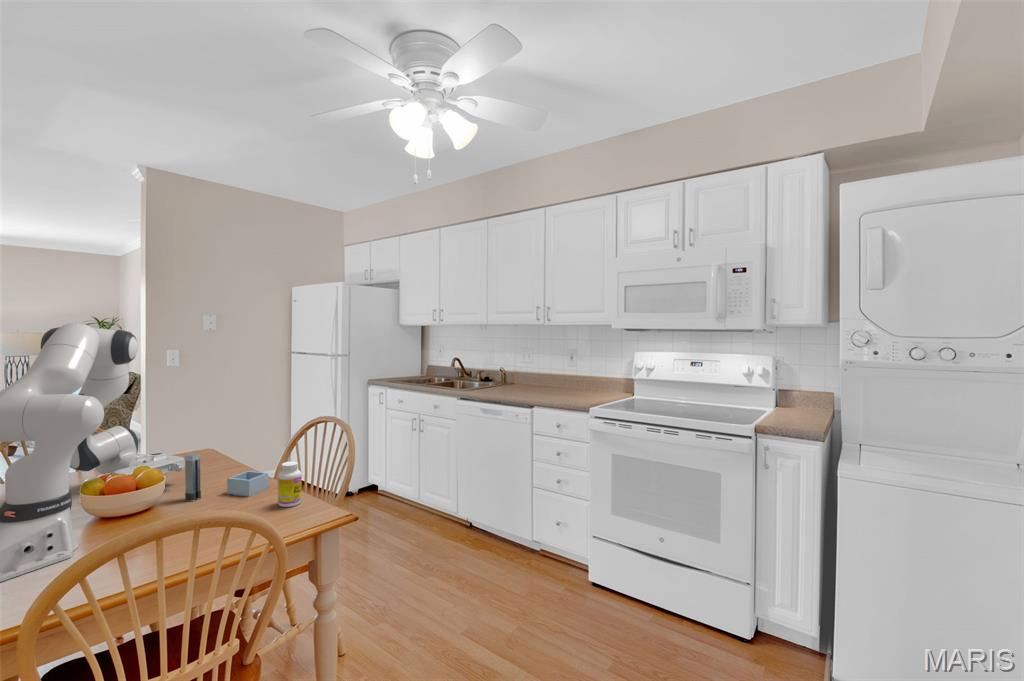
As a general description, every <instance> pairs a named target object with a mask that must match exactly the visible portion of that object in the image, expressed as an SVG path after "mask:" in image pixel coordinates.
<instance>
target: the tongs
mask: <svg viewBox="0 0 1024 681" xmlns="http://www.w3.org/2000/svg"><path fill="white" fill-rule="evenodd" d="M201 458H202V455H201V453H196V452H192V453H188V454H186V455H184V459H185V467H184V468H185V469H184V470H185V476H184V477H185V478H184V479H185V493H184V496H185V497H184V499H185V500H195V499H196V498H200V499H202V491H201ZM196 500H197V499H196ZM196 500H195V501H196Z"/></svg>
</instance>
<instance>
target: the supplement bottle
mask: <svg viewBox="0 0 1024 681" xmlns="http://www.w3.org/2000/svg"><path fill="white" fill-rule="evenodd" d="M298 468H299V462H298V461H285V462H283V463H281V470H282V471H280V472H279V473H278V476H277V490H278V492H277V503H278V506H279V507H283V508H290V507H291V508H292V507H295V506H298V505H300V503H301V502H302V472H301V470H299V469H298Z"/></svg>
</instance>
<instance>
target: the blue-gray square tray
mask: <svg viewBox="0 0 1024 681" xmlns="http://www.w3.org/2000/svg"><path fill="white" fill-rule="evenodd" d="M226 482H227V483H226V485H227V488H226V489H227V495H230V494H233V495H232V496H238V497H239V496H241V497H249V498H250V497H252V496H255V495H256V494H259V493H260V492H263V491H265V490H268V489H269V472H264V471H263V472H262V471H254V470H246V471H243V472H241V473H238V474H236V475H233V476H231V477H228V478H227V479H226Z"/></svg>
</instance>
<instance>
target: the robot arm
mask: <svg viewBox="0 0 1024 681" xmlns="http://www.w3.org/2000/svg"><path fill="white" fill-rule="evenodd" d="M40 340H41V342H40V351H39V353H38V355H37V356H36V357H35V360H34V361H33V362H32V364H31V365H30V367H28V370H27V371H26V372H25V373H24V374H23V375H21V377H19V378H18V379H17V380H15V381H13V383H10V384H9V385H8V386H6V387H5V388H3V389H1V390H0V443H13V442H32V441H34V447H33V450H32V453H29V454H27V455H24V456H22V457H20V458H18V459H17V460H15V461H13V462H12V463H11V464H10V465H9V466H8V468H7V469H6V470H5V472H4V487H5V490H4V492H5V496H4V497H5V501H4V502H3V503H2V505H1V507H0V583H1V582H4V581H7V580H10V579H13V578H16V577H18V576H22V575H25V574H27V573H29V572H33V571H36V570H39V569H41V568H45V567H47V566H50V565H53V564H55V563H58V562H61V561H62V562H63V561H64V560H68V559H70V558H72V556H73V555H74V554H73V552H74V551H75V550H76V549H77V548H78V547H79V546H80V543H79V540H78V539H77V536H76V533H75V530H74V525H73V521H72V513H71V510H72V506H73V500H72V499H73V496H72V495H73V494H72V490H70V469H72V470H75V471H80V472H90V471H92V470H93V469H95V470H96V472H98V473H99V474H100V475H102V474H106V473H112V474H129V475H132V474H133V471H134V469H136V468H137V467H140V466H148V467H150V468H155V469H160V470H161V471H162V472H163V475H166V474H169V473H172V472H182V471H184V468H185V457H183V456H178V455H171V454H166V453H165V452H157V453H149V454H145V453H144V454H143V453H141V454H138V451H139V438H138V436H137V435H136V432H134V431H133V430H132V429H130V428H129V427H127V426H124V425H116V426H113V427H110V428H107V429H105V430H103V431H100V432H98V433H95V432H96V431H97V430H98V429H99V428H100V427H101V426H102V424H103V422H104V418H105V409H104V408H105V407H106V406H109V404H111V403H112V402H113V401H116V400H117V399H118V398H120V397H121V396H122V395H123V394H124V393H125V392H126V391H127V390H128V387H129V384H130V383H129V382H130V373H129V363H130V362H132V361H133V360H135V358H136V356H137V353H138V348H139V346H138V340H137V338H136V336H135V335H134V334H133V333H132V332H131V331H129V330H128V331H127V330H122V329H116V330H115V329H108V328H99V327H92V326H90V325H87V324H84V323H81V322H80V323H78V322H71V323H65V324H64V325H61V326H60V327H59V326H58V327H53V328H50V329H49V330H47V331H46V332H44V334H43V335H42V337H41V339H40ZM78 390H80V391H79V392H78V394H76V392H77V391H78ZM94 433H95V434H94Z"/></svg>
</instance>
